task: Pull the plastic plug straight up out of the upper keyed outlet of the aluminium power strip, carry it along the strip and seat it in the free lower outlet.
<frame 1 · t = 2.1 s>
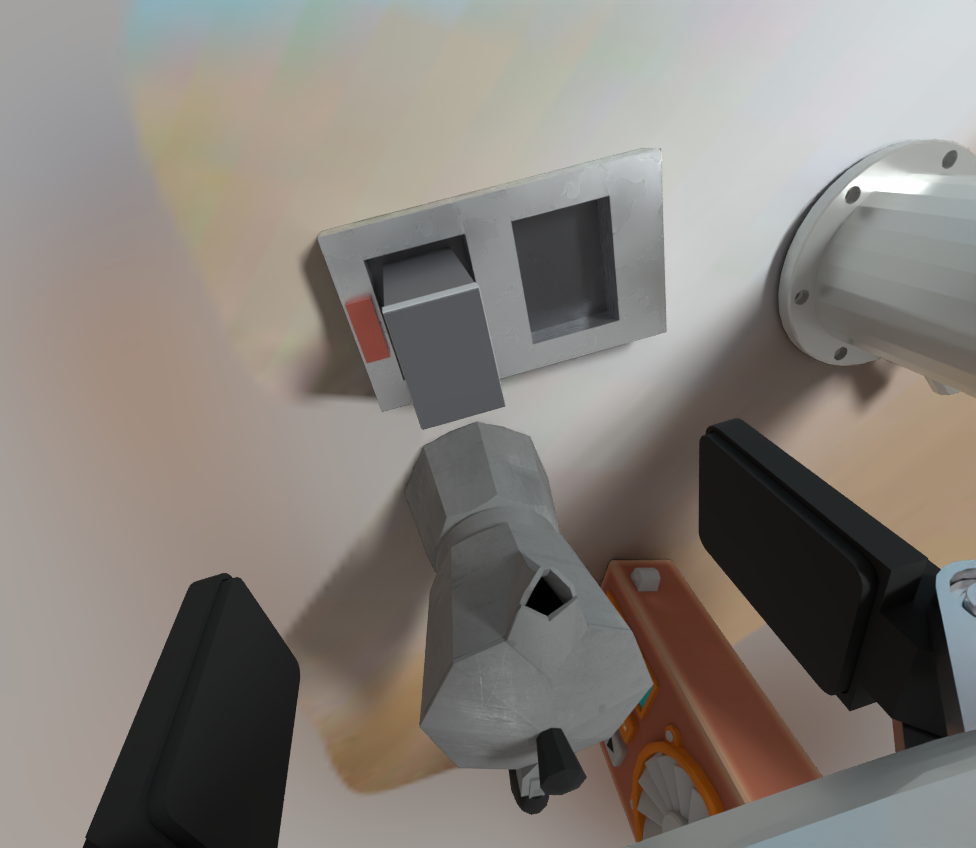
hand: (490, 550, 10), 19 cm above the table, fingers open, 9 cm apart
power strip: (502, 280, 26), on the table
plug: (429, 302, 26), resting on power strip
control panel: (618, 613, 42), on the table
coffeepot: (476, 494, 33), on the table
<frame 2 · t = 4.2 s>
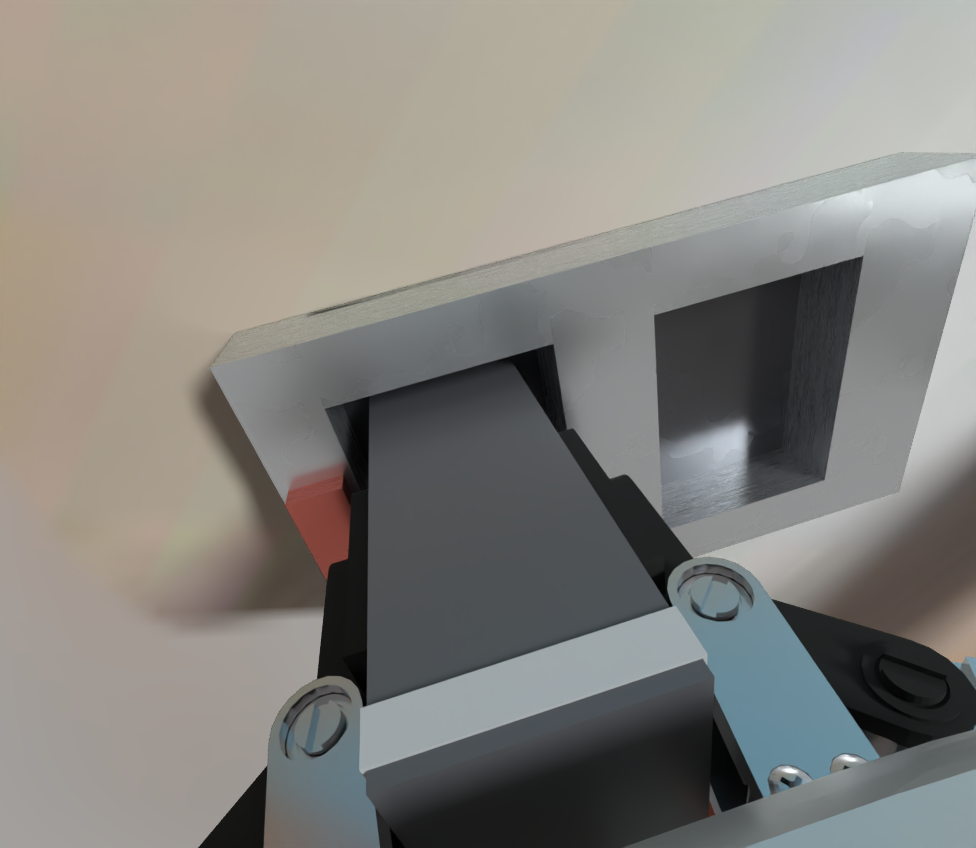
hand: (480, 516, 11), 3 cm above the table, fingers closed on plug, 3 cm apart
power strip: (602, 407, 14), on the table
plug: (462, 454, 13), resting on power strip, touching gripper
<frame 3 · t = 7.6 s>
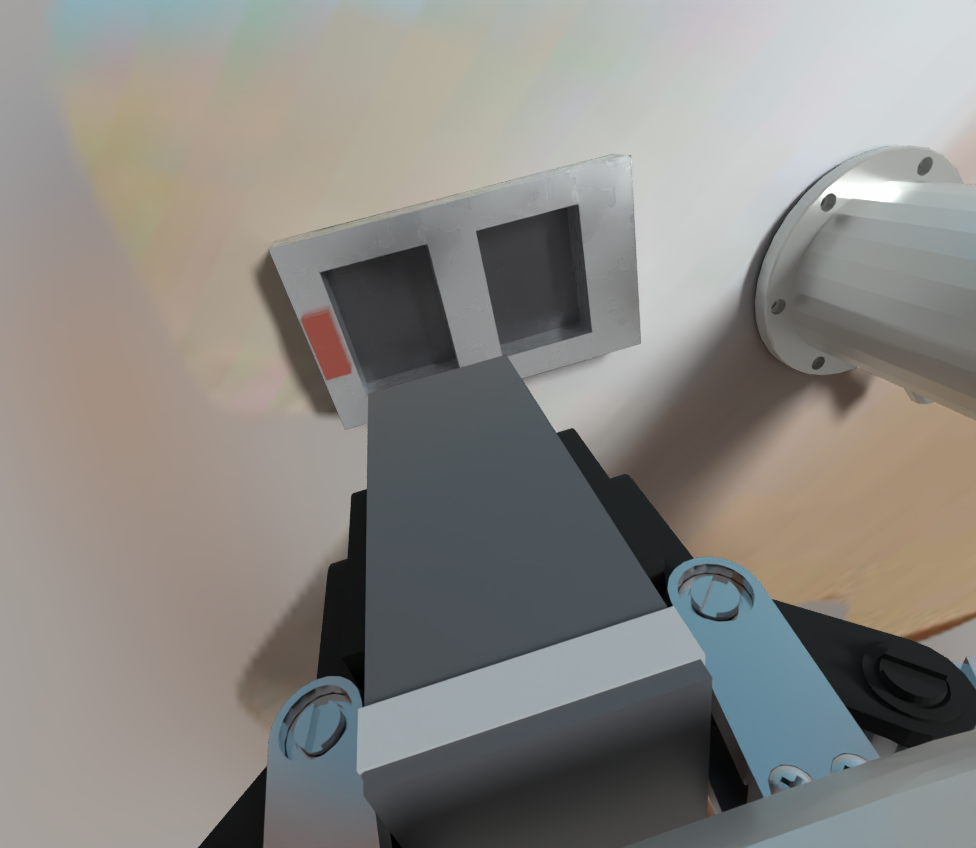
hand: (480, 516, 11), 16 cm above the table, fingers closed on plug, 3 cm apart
power strip: (470, 291, 25), on the table
plug: (461, 454, 13), point 14 cm above the table, touching gripper
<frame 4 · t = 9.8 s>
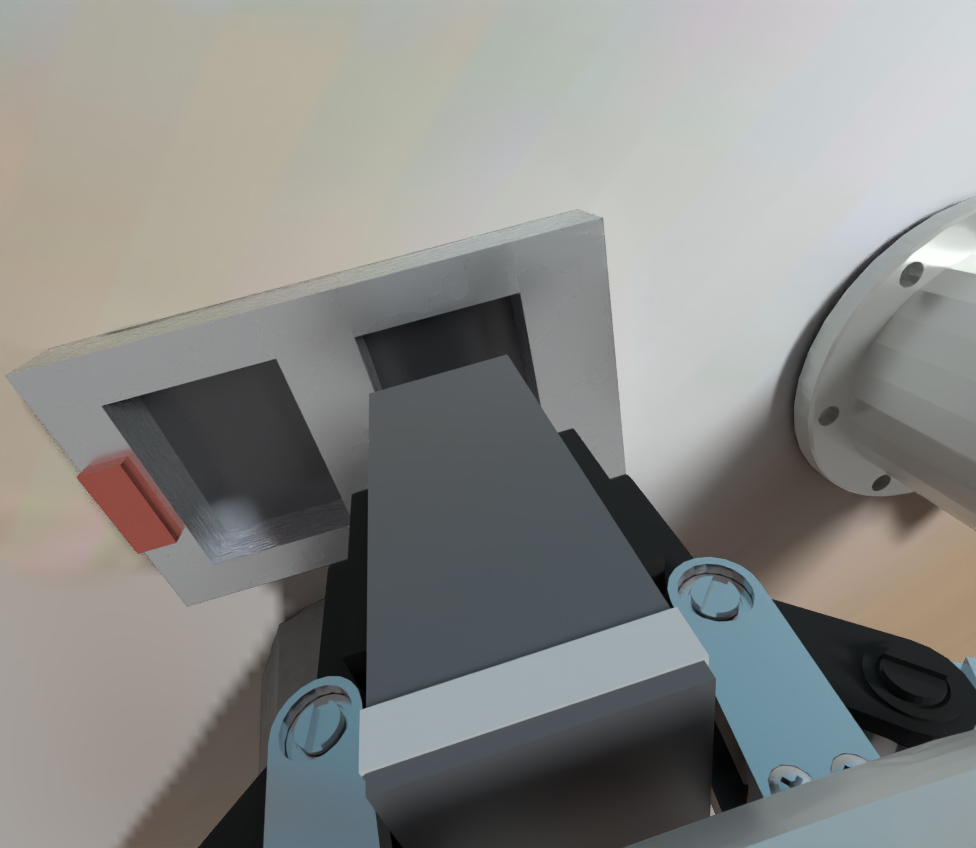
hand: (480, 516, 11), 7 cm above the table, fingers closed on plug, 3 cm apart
power strip: (371, 406, 17), on the table
plug: (462, 454, 13), point 5 cm above the table, touching gripper
coffeepot: (372, 667, 24), on the table
when the fingers open (4 cm above the table, at t = 11.4 s): plug drops 1 cm, resting on power strip.
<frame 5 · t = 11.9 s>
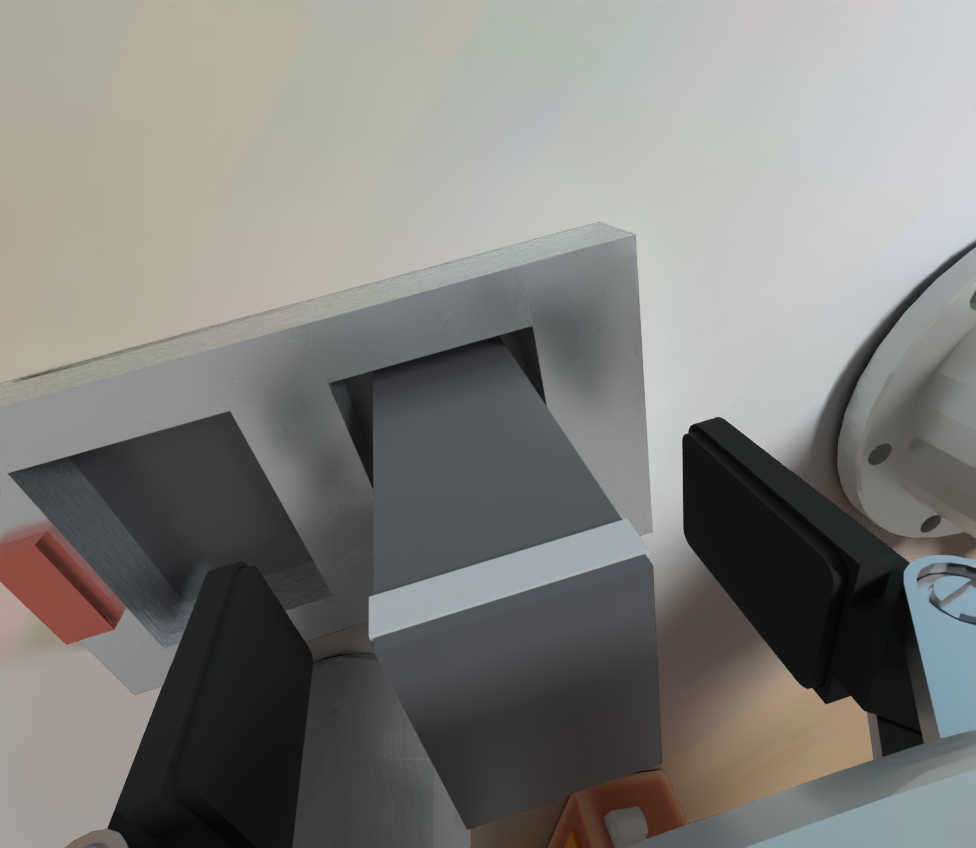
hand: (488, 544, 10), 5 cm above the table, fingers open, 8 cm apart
power strip: (352, 455, 14), on the table
plug: (457, 427, 14), resting on power strip
control panel: (591, 828, 30), on the table
coffeepot: (359, 734, 21), on the table
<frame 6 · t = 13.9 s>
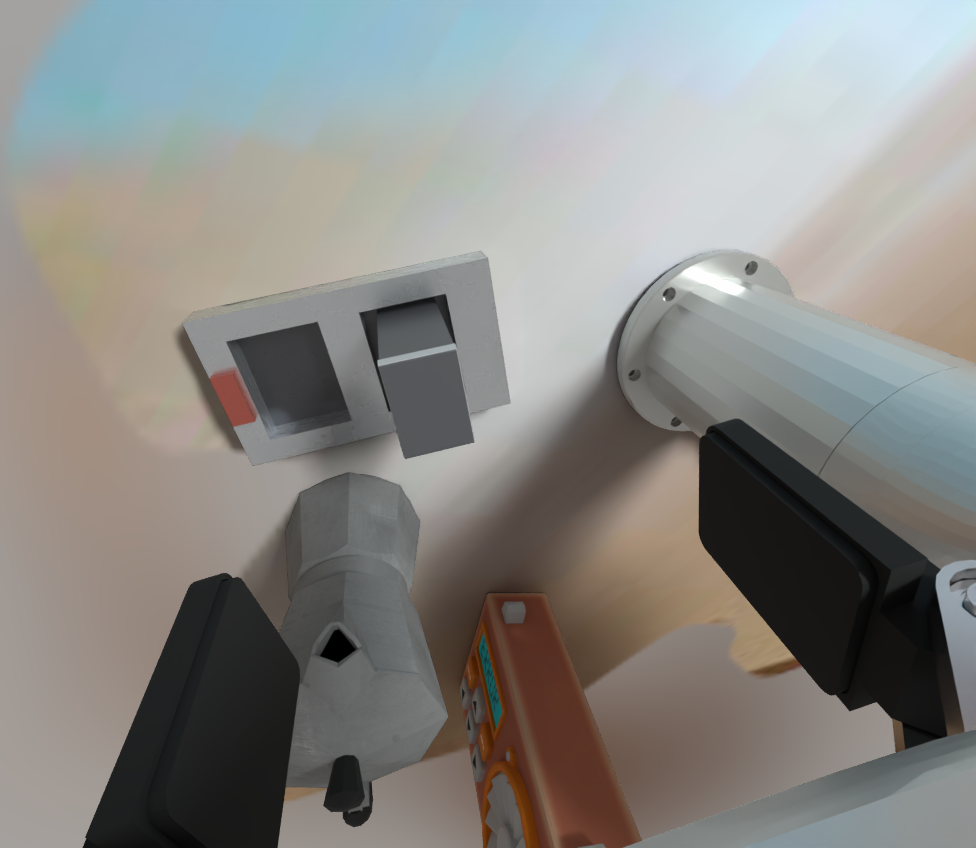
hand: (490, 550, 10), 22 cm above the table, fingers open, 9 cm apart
power strip: (364, 354, 30), on the table
plug: (415, 343, 30), resting on power strip
control panel: (500, 639, 46), on the table
coffeepot: (355, 533, 37), on the table
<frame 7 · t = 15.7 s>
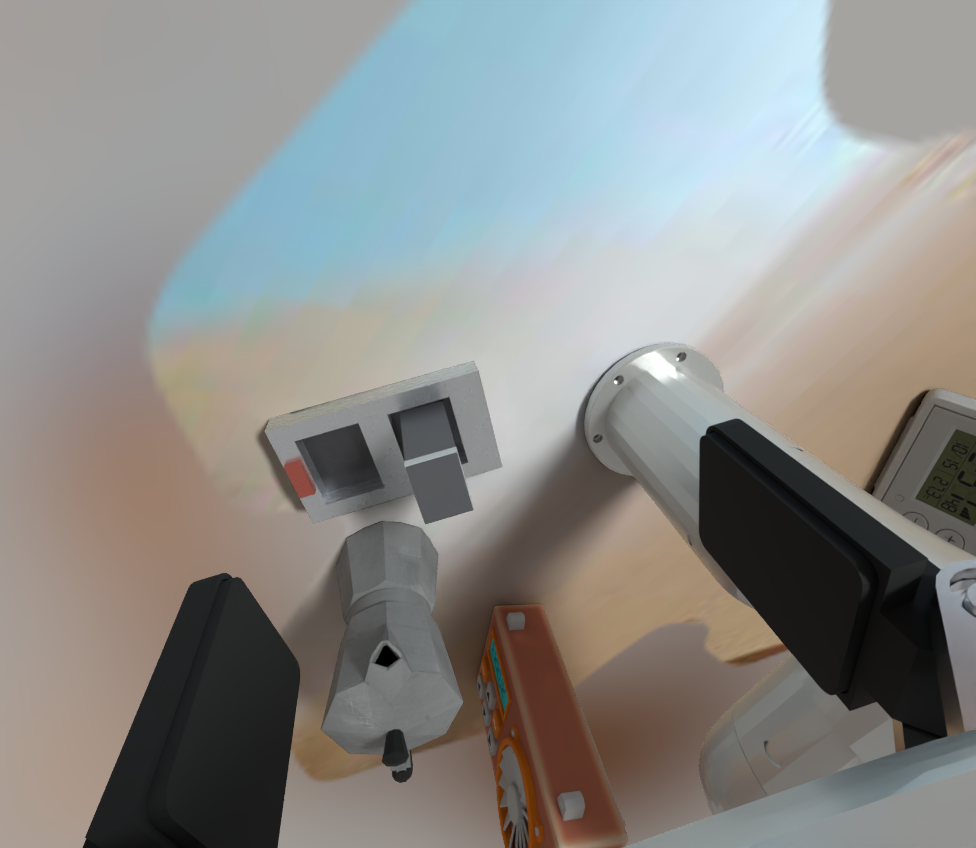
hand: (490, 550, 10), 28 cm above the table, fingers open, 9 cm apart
power strip: (391, 437, 41), on the table
plug: (428, 428, 40), resting on power strip
control panel: (508, 642, 56), on the table
coffeepot: (388, 565, 47), on the table
digital clock: (905, 450, 54), on the table
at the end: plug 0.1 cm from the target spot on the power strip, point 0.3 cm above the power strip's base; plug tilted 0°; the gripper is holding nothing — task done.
